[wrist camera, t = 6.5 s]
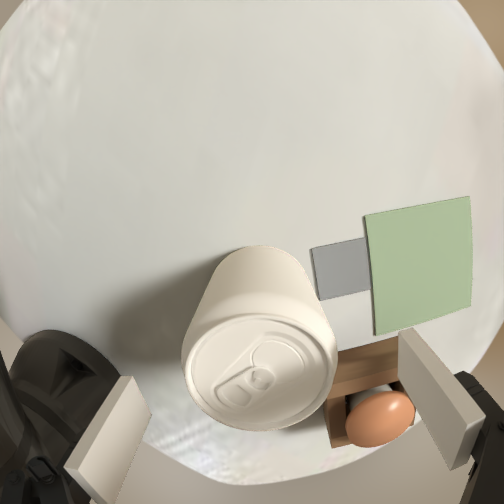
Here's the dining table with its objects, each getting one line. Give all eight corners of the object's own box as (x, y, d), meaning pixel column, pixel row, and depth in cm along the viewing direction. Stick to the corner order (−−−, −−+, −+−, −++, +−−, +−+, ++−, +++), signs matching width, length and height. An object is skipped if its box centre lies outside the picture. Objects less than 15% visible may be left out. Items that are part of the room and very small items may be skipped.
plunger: (336, 412, 28) (348, 454, 22) (332, 367, 26) (346, 410, 21) (391, 397, 27) (410, 435, 21) (392, 351, 26) (417, 388, 20)
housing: (324, 418, 29) (331, 448, 24) (316, 356, 27) (325, 386, 22) (398, 398, 28) (413, 424, 24) (401, 334, 26) (421, 359, 22)
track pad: (319, 300, 25) (320, 300, 25) (311, 248, 24) (311, 248, 24) (370, 288, 25) (370, 289, 25) (364, 237, 24) (365, 237, 24)
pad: (375, 334, 26) (376, 336, 26) (364, 215, 24) (365, 215, 24) (469, 305, 25) (470, 305, 25) (468, 196, 23) (469, 196, 23)
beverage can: (328, 291, 25) (375, 376, 14) (259, 351, 27) (258, 455, 15) (259, 222, 24) (260, 265, 12) (190, 291, 26) (143, 375, 14)
